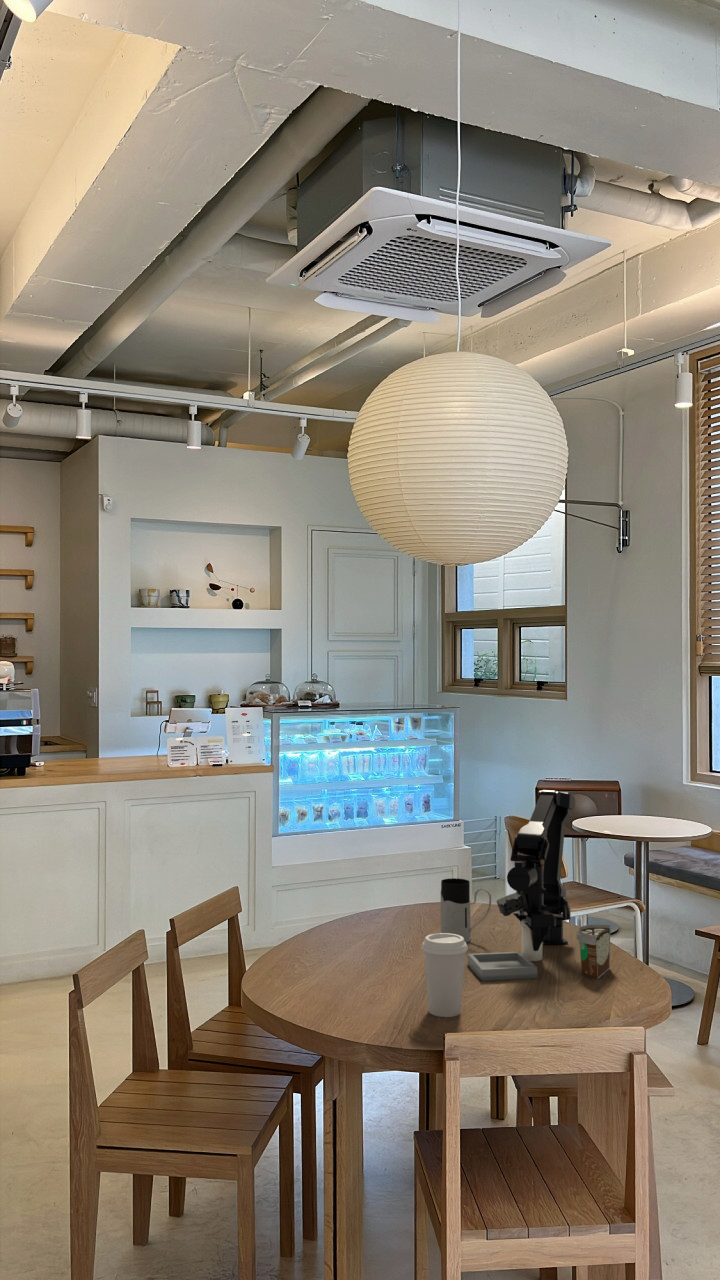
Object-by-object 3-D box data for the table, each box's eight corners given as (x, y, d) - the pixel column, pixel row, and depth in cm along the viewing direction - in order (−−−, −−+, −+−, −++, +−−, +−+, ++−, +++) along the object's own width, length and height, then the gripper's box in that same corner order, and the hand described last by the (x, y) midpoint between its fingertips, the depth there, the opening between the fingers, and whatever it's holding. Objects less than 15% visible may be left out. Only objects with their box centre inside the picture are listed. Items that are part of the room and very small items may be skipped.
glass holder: (446, 932, 262) (445, 876, 263) (496, 938, 256) (496, 881, 257) (434, 940, 254) (433, 882, 255) (485, 946, 248) (485, 887, 249)
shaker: (519, 955, 240) (518, 918, 241) (538, 954, 241) (538, 918, 241) (525, 961, 235) (525, 923, 236) (545, 960, 236) (544, 923, 236)
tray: (467, 964, 233) (467, 953, 233) (520, 962, 235) (520, 951, 235) (481, 980, 220) (481, 969, 220) (537, 978, 222) (537, 967, 222)
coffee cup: (464, 1003, 204) (464, 931, 205) (471, 1019, 195) (471, 944, 195) (419, 1004, 204) (419, 932, 204) (423, 1020, 194) (423, 944, 195)
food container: (586, 963, 234) (585, 921, 234) (611, 967, 230) (611, 924, 231) (569, 976, 223) (568, 932, 223) (595, 980, 220) (595, 936, 220)
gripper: (489, 876, 247) (489, 938, 246) (511, 892, 228) (511, 959, 228) (531, 875, 248) (532, 937, 248) (556, 891, 230) (557, 957, 229)
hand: (532, 947), depth 238 cm, fingers open, 5 cm apart
